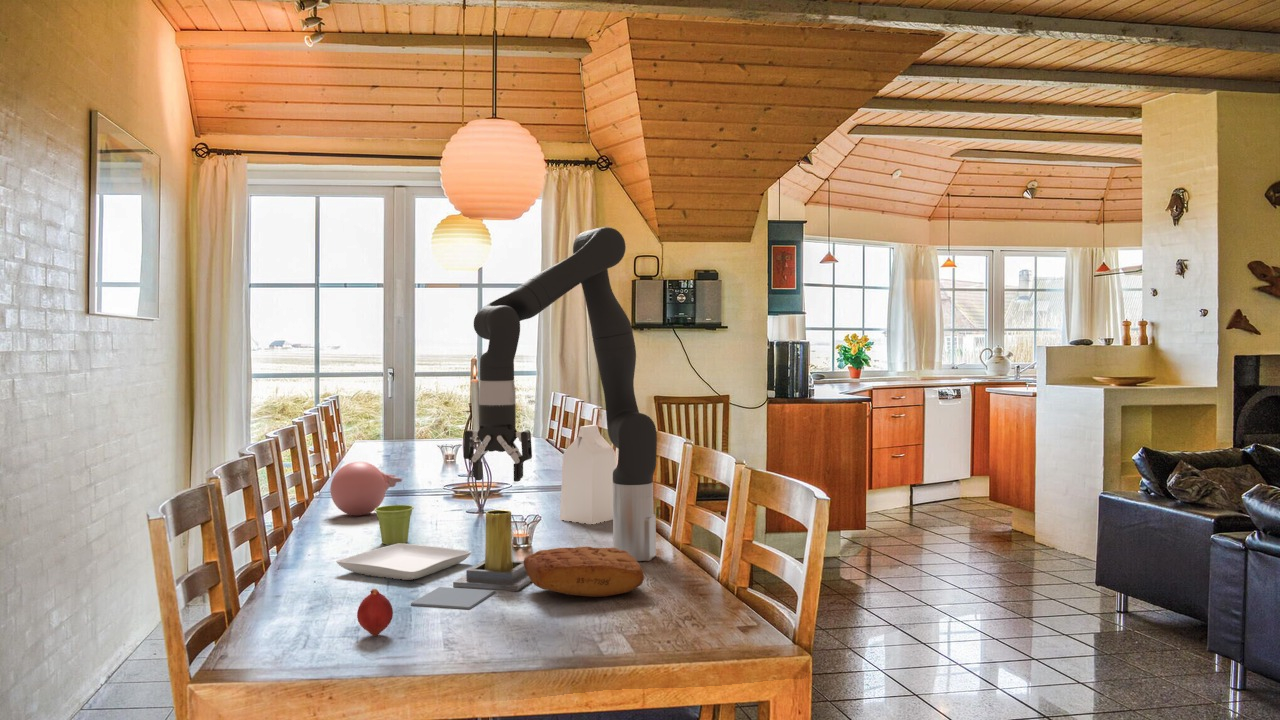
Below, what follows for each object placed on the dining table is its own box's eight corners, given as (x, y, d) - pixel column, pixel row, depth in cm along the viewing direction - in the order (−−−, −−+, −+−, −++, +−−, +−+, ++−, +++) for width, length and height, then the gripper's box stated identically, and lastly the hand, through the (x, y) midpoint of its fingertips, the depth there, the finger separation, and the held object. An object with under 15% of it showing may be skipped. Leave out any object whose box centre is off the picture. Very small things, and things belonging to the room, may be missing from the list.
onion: (361, 630, 163) (361, 584, 163) (395, 629, 163) (395, 583, 163) (354, 641, 157) (353, 593, 157) (389, 640, 157) (389, 592, 157)
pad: (495, 592, 187) (495, 590, 187) (469, 609, 175) (469, 607, 175) (439, 588, 190) (439, 586, 190) (410, 605, 178) (410, 603, 178)
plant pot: (367, 545, 232) (366, 509, 232) (390, 537, 240) (390, 503, 240) (398, 548, 228) (398, 512, 228) (421, 540, 237) (421, 505, 237)
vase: (508, 584, 193) (507, 514, 192) (479, 583, 194) (478, 514, 194) (517, 577, 199) (517, 509, 198) (490, 576, 200) (489, 508, 200)
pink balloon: (405, 516, 269) (404, 462, 269) (331, 521, 262) (330, 466, 262) (400, 507, 284) (399, 456, 283) (329, 512, 277) (329, 460, 277)
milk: (587, 513, 272) (586, 423, 271) (619, 517, 265) (618, 425, 265) (559, 520, 262) (558, 426, 262) (592, 524, 255) (591, 428, 255)
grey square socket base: (542, 573, 201) (542, 560, 201) (518, 590, 188) (517, 575, 188) (481, 570, 205) (481, 556, 205) (453, 586, 191) (453, 572, 191)
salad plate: (474, 564, 212) (474, 549, 212) (414, 587, 193) (413, 570, 193) (398, 556, 221) (398, 541, 221) (334, 576, 202) (333, 560, 202)
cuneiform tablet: (534, 608, 175) (533, 565, 175) (521, 586, 192) (521, 546, 192) (649, 599, 181) (648, 557, 181) (627, 578, 198) (627, 539, 197)
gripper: (536, 401, 197) (536, 479, 198) (473, 400, 201) (473, 477, 201) (522, 404, 190) (523, 484, 191) (457, 403, 194) (458, 482, 194)
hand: (497, 480), depth 196 cm, fingers open, 8 cm apart
